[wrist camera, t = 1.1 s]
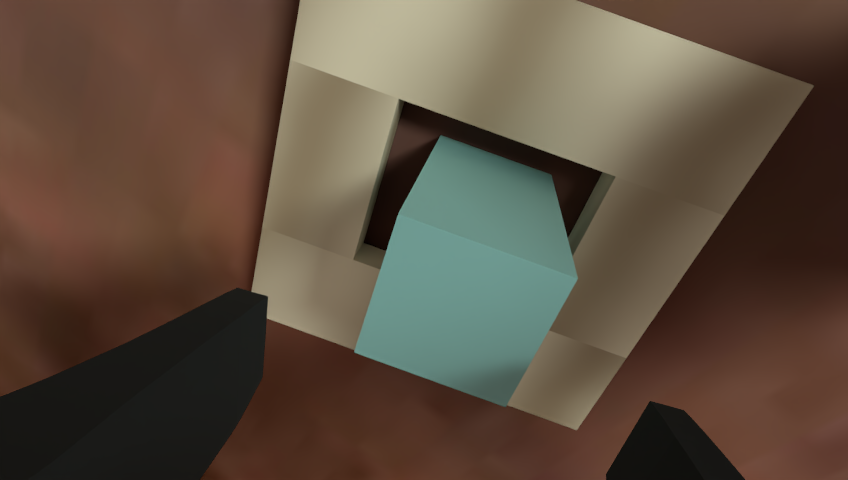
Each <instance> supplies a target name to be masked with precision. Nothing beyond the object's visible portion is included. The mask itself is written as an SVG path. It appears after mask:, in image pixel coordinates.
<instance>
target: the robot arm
mask: <svg viewBox="0 0 848 480" xmlns="http://www.w3.org/2000/svg"><path fill="white" fill-rule="evenodd" d="M267 306H268V296H265V295H262V294H258V293H255V292H251V291H247V290H244V289H240V288H236V289H234V290H232V291H229V292H227V293H225V294H223V295H221V296H219V297H217V298H215V299H213V300H211V301H209V302H207V303H205V304H203V305H201V306H200V307H198V308H196V309H194V310H192V311H190V312H188V313H186V314H184V315H182V316H180V317H178V318H176V319H174V320H172V321H170V322H168V323H166V324H164V325H162V326H160V327H158V328H156V329H154V330H152V331H150V332H148V333H146V334H143V335H141V336H139V337H137V338H135V339H133V340H131V341H129V342H127V343H125V344H123V345H121V346H118V347H116V348H114V349H112V350H109V351H107V352H105V353H103V354H101V355H98V356H96V357H94V358H92V359H89V360H87V361H85V362H83V363H80V364H78V365H76V366H74V367H71V368H69V369H67V370H65V371H62V372H60V373H58V374H56V375H53V376H51V377H49V378H46V379H44V380H41V381H39V382H37V383H34V384H32V385H29V386H27V387H24V388H22V389H19V390H16V391H14V392H11V393H9V394H6V395H4V396H1V397H0V480H200V478H201V477H202V476H203V474H204V473H205V471H206V470H207V468H208V467H209V465H210V464H211V463H212V461H213V460H214V458H215V457H216V455H217V454H218V452H219V451H220V449H221V448H222V447H223V445H224V444H225V442H226V441H227V439H228V438H229V436H230V435H231V433H232V432H233V430H234V429H235V427H236V426H237V424H238V422H239V421H240V419H241V417H242V415H243V413H244V411H245V410H246V408H247V406H248V404H249V402H250V400H251V398H252V396H253V395H254V393H255V391H256V389H257V387H258V385H259V383H260V381H261V379H262V377H263V363H264V349H265V335H266V320H267ZM606 480H745V479H744V478H743V476H742V475H741V474H740V473H739V472H738V471H737V469H736V468H735V467H734V466H733V465H732V464H731V462H730V461H729V460H728V459H727V458H726V457H725V455H724V454H723V453H722V452H721V451H720V450H719V448H718V447H717V446H716V445H715V444H714V443H713V442H712V440H711V439H710V438H709V437H708V436H707V435H706V434H705V432H704V431H703V430H702V429H701V428H700V427H699V426H698V425H697V424H696V423H695V421H694V420H693V419H692V418H691V417H690V416H689V415H688V414H687V413H686V412H685V411H684V410H681V409H677V408H674V407H670V406H666V405H663V404H659V403H655V402H652V401H650V402H649V404H648V405H647V407H646V409H645V410H644V412H643V414H642V415H641V417H640V419H639V420H638V422H637V424H636V425H635V427H634V429H633V430H632V432H631V434H630V435H629V437H628V439H627V440H626V442H625V444H624V445H623V447H622V449H621V450H620V452H619V454H618V455H617V457H616V459H615V460H614V462H613V464H612V465H611V467H610V469H609V470H608V472H607V474H606Z"/></svg>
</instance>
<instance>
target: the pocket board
mask: <svg viewBox="0 0 848 480" xmlns="http://www.w3.org/2000/svg"><path fill="white" fill-rule="evenodd" d="M813 87H814V85H811V84H808V83H805V82H803V81H800V80H797V79H794V78H791V77H789V76H786V75H783V74H780V73H777V72H775V71H772V70H769V69H766V68H764V67H761V66H758V65H755V64H752V63H750V62H747V61H744V60H741V59H738V58H736V57H733V56H730V55H727V54H724V53H722V52H719V51H716V50H713V49H710V48H708V47H705V46H702V45H699V44H697V43H694V42H691V41H688V40H685V39H683V38H680V37H677V36H674V35H671V34H669V33H666V32H663V31H660V30H657V29H655V28H652V27H649V26H646V25H643V24H641V23H638V22H635V21H632V20H630V19H627V18H624V17H621V16H618V15H616V14H613V13H610V12H607V11H604V10H602V9H599V8H596V7H593V6H590V5H588V4H585V3H582V2H579V1H577V0H300V4H299V10H298V16H297V22H296V28H295V34H294V40H293V46H292V52H291V58H290V64H289V70H288V76H287V82H286V88H285V94H284V100H283V106H282V112H281V118H280V124H279V130H278V136H277V142H276V148H275V154H274V160H273V166H272V172H271V178H270V184H269V190H268V196H267V202H266V208H265V214H264V220H263V226H262V232H261V238H260V244H259V250H258V256H257V262H256V268H255V274H254V280H253V286H252V291H251V292H255V293H258V294H262V295H265V296H268V306H267V319H270V320H273V321H276V322H278V323H281V324H284V325H287V326H289V327H292V328H295V329H298V330H300V331H303V332H306V333H309V334H312V335H314V336H317V337H320V338H323V339H325V340H328V341H331V342H334V343H336V344H339V345H342V346H345V347H348V348H350V349H353V350H355V348H356V345H357V341H358V338H359V335H360V332H361V329H362V326H363V323H364V319H365V316H366V313H367V310H368V307H369V304H370V301H371V297H372V294H373V291H374V288H375V285H376V282H377V279H378V275H379V272H380V269H381V266H382V263H383V260H384V257H385V254H386V251H385V250H382V249H379V248H376V247H374V246H371V245H368V244H365V243H364V240H365V236H366V233H367V229H368V226H369V223H370V219H371V216H372V212H373V209H374V205H375V202H376V198H377V195H378V191H379V188H380V184H381V181H382V178H383V174H384V171H385V167H386V164H387V160H388V157H389V153H390V150H391V146H392V143H393V139H394V136H395V133H396V129H397V126H398V122H399V119H400V115H401V112H402V108H403V105H404V101H406V102H409V103H412V104H415V105H418V106H420V107H423V108H426V109H429V110H432V111H434V112H437V113H440V114H443V115H445V116H448V117H451V118H454V119H457V120H459V121H462V122H465V123H468V124H471V125H473V126H476V127H479V128H482V129H484V130H487V131H490V132H493V133H496V134H498V135H501V136H504V137H507V138H509V139H512V140H515V141H518V142H521V143H523V144H526V145H529V146H532V147H535V148H537V149H540V150H543V151H546V152H548V153H551V154H554V155H557V156H560V157H562V158H565V159H568V160H571V161H574V162H576V163H579V164H582V165H585V166H587V167H590V168H593V169H596V170H599V171H601V172H602V174H601V176H600V178H599V180H598V182H597V184H596V186H595V188H594V189H593V191H592V193H591V195H590V197H589V199H588V201H587V203H586V205H585V207H584V209H583V210H582V212H581V214H580V216H579V218H578V220H577V222H576V224H575V226H574V228H573V229H572V231H571V233H570V235H569V237H568V241H569V245H570V249H571V253H572V257H573V261H574V265H575V269H576V273H577V277H578V280H577V281H576V283H575V285H574V287H573V288H572V290H571V292H570V294H569V296H568V297H567V299H566V301H565V303H564V304H563V306H562V308H561V310H560V312H559V313H558V315H557V317H556V319H555V320H554V322H553V324H552V326H551V327H550V329H549V331H548V333H547V335H546V336H545V338H544V340H543V342H542V343H541V345H540V347H539V349H538V351H537V352H536V354H535V356H534V358H533V359H532V361H531V363H530V365H529V367H528V368H527V370H526V372H525V374H524V375H523V377H522V379H521V381H520V383H519V384H518V386H517V388H516V390H515V391H514V393H513V395H512V397H511V398H510V400H509V402H508V404H507V405H508V406H511V407H514V408H517V409H519V410H522V411H525V412H528V413H530V414H533V415H536V416H539V417H542V418H544V419H547V420H550V421H553V422H555V423H558V424H561V425H564V426H566V427H569V428H572V429H575V430H577V429H578V428H579V426H580V425H581V423H582V422H583V420H584V419H585V417H586V416H587V415H588V413H589V412H590V410H591V409H592V407H593V406H594V404H595V403H596V401H597V400H598V399H599V397H600V396H601V394H602V393H603V391H604V390H605V388H606V387H607V386H608V384H609V383H610V381H611V380H612V378H613V377H614V375H615V374H616V372H617V371H618V370H619V368H620V367H621V365H622V364H623V362H624V361H625V359H626V358H627V357H628V355H629V354H630V352H631V351H632V349H633V348H634V346H635V345H636V343H637V342H638V341H639V339H640V338H641V336H642V335H643V333H644V332H645V330H646V329H647V328H648V326H649V325H650V323H651V322H652V320H653V319H654V317H655V316H656V314H657V313H658V312H659V310H660V309H661V307H662V306H663V304H664V303H665V301H666V300H667V299H668V297H669V296H670V294H671V293H672V291H673V290H674V288H675V287H676V285H677V284H678V283H679V281H680V280H681V278H682V277H683V275H684V274H685V272H686V271H687V270H688V268H689V267H690V265H691V264H692V262H693V261H694V259H695V258H696V256H697V255H698V254H699V252H700V251H701V249H702V248H703V246H704V245H705V243H706V242H707V241H708V239H709V238H710V236H711V235H712V233H713V232H714V230H715V229H716V227H717V226H718V225H719V223H720V222H721V220H722V219H723V217H724V216H725V214H726V213H727V212H728V210H729V209H730V207H731V206H732V204H733V203H734V201H735V200H736V198H737V197H738V196H739V194H740V193H741V191H742V190H743V188H744V187H745V185H746V184H747V183H748V181H749V180H750V178H751V177H752V175H753V174H754V172H755V171H756V169H757V168H758V167H759V165H760V164H761V162H762V161H763V159H764V158H765V156H766V155H767V154H768V152H769V151H770V149H771V148H772V146H773V145H774V143H775V142H776V140H777V139H778V138H779V136H780V135H781V133H782V132H783V130H784V129H785V127H786V126H787V125H788V123H789V122H790V120H791V119H792V117H793V116H794V114H795V113H796V111H797V110H798V109H799V107H800V106H801V104H802V103H803V101H804V100H805V98H806V97H807V96H808V94H809V93H810V91H811V90H812V88H813Z"/></svg>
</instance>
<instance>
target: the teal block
mask: <svg viewBox="0 0 848 480" xmlns="http://www.w3.org/2000/svg"><path fill="white" fill-rule="evenodd" d="M577 280H578V277H577V273H576V269H575V265H574V261H573V257H572V253H571V249H570V245H569V241H568V238H567V234H566V230H565V226H564V222H563V218H562V214H561V210H560V206H559V202H558V198H557V195H556V191H555V187H554V183H553V179H552V175H551V174H548V173H545V172H542V171H540V170H537V169H534V168H531V167H529V166H526V165H523V164H520V163H517V162H515V161H512V160H509V159H506V158H504V157H501V156H498V155H495V154H492V153H490V152H487V151H484V150H481V149H478V148H476V147H473V146H470V145H467V144H465V143H462V142H459V141H456V140H453V139H451V138H448V137H445V136H442V135H440V137H439V139H438V141H437V143H436V145H435V147H434V148H433V150H432V152H431V154H430V156H429V158H428V160H427V161H426V163H425V165H424V167H423V169H422V171H421V172H420V174H419V176H418V178H417V180H416V182H415V184H414V185H413V187H412V189H411V191H410V193H409V195H408V197H407V198H406V200H405V202H404V204H403V206H402V208H401V209H400V211H399V213H398V216H397V219H396V222H395V225H394V228H393V232H392V235H391V238H390V241H389V244H388V247H387V250H386V254H385V257H384V260H383V263H382V266H381V269H380V272H379V275H378V279H377V282H376V285H375V288H374V291H373V294H372V297H371V301H370V304H369V307H368V310H367V313H366V316H365V319H364V323H363V326H362V329H361V332H360V335H359V338H358V341H357V345H356V348H355V351H354V353H357V354H360V355H362V356H365V357H368V358H371V359H374V360H376V361H379V362H382V363H385V364H387V365H390V366H393V367H396V368H398V369H401V370H404V371H407V372H409V373H412V374H415V375H418V376H421V377H423V378H426V379H429V380H432V381H434V382H437V383H440V384H443V385H445V386H448V387H451V388H454V389H457V390H459V391H462V392H465V393H468V394H470V395H473V396H476V397H479V398H481V399H484V400H487V401H490V402H493V403H495V404H498V405H501V406H504V407H506V406H507V404H508V402H509V400H510V398H511V397H512V395H513V393H514V391H515V390H516V388H517V386H518V384H519V383H520V381H521V379H522V377H523V375H524V374H525V372H526V370H527V368H528V367H529V365H530V363H531V361H532V359H533V358H534V356H535V354H536V352H537V351H538V349H539V347H540V345H541V343H542V342H543V340H544V338H545V336H546V335H547V333H548V331H549V329H550V327H551V326H552V324H553V322H554V320H555V319H556V317H557V315H558V313H559V312H560V310H561V308H562V306H563V304H564V303H565V301H566V299H567V297H568V296H569V294H570V292H571V290H572V288H573V287H574V285H575V283H576V281H577Z"/></svg>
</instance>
